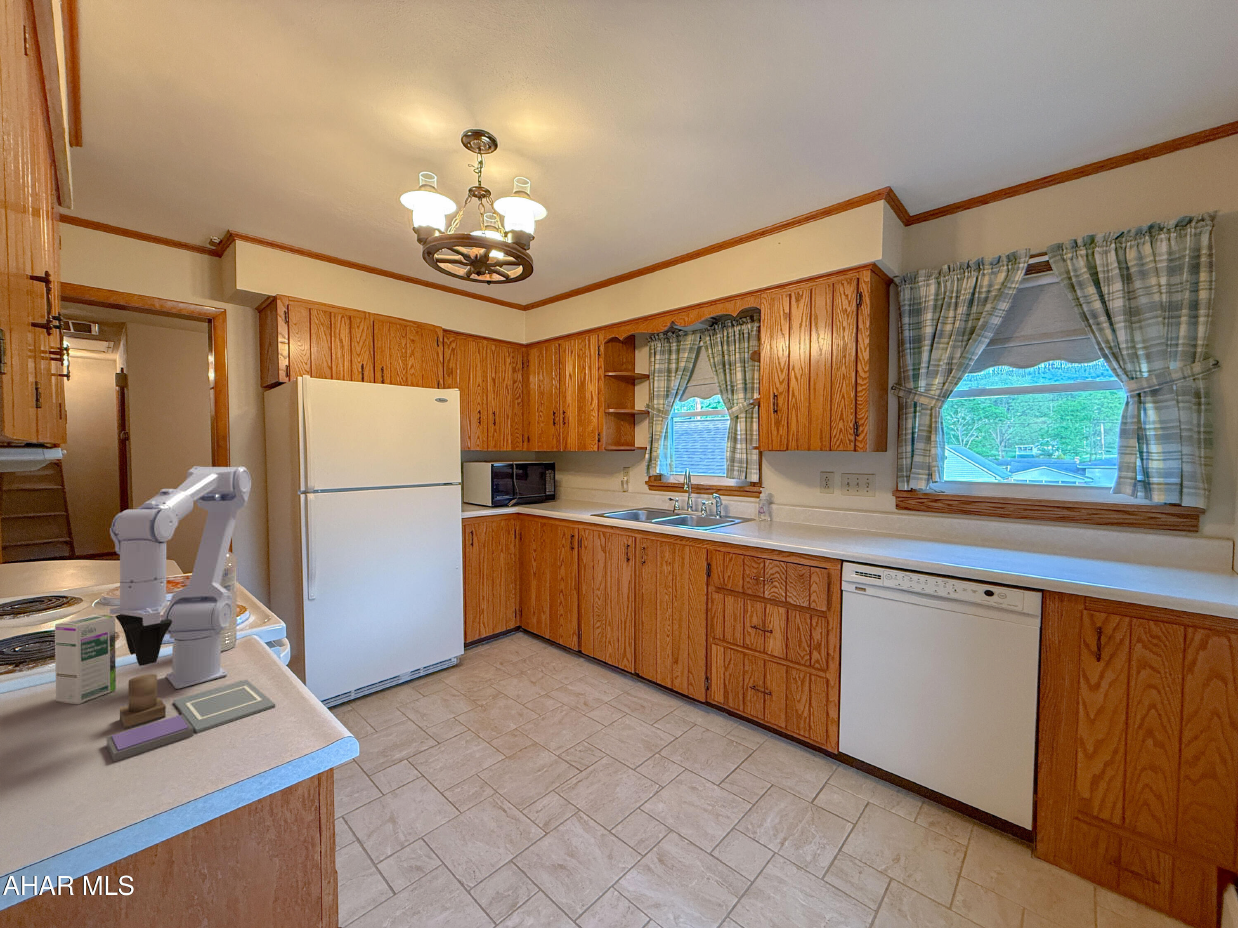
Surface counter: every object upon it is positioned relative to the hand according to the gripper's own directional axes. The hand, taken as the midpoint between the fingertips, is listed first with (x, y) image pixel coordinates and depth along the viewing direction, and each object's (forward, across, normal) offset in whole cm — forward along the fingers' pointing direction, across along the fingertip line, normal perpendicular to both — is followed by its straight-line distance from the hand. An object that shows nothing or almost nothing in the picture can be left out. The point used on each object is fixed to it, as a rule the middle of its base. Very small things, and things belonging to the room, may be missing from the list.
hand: (143, 657), depth 84 cm
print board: (+10, +5, +10) cm, 15 cm away
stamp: (+10, 0, 0) cm, 10 cm away
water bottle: (+11, -29, +17) cm, 35 cm away
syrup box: (+11, -19, -5) cm, 22 cm away
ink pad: (+10, +10, 0) cm, 14 cm away
